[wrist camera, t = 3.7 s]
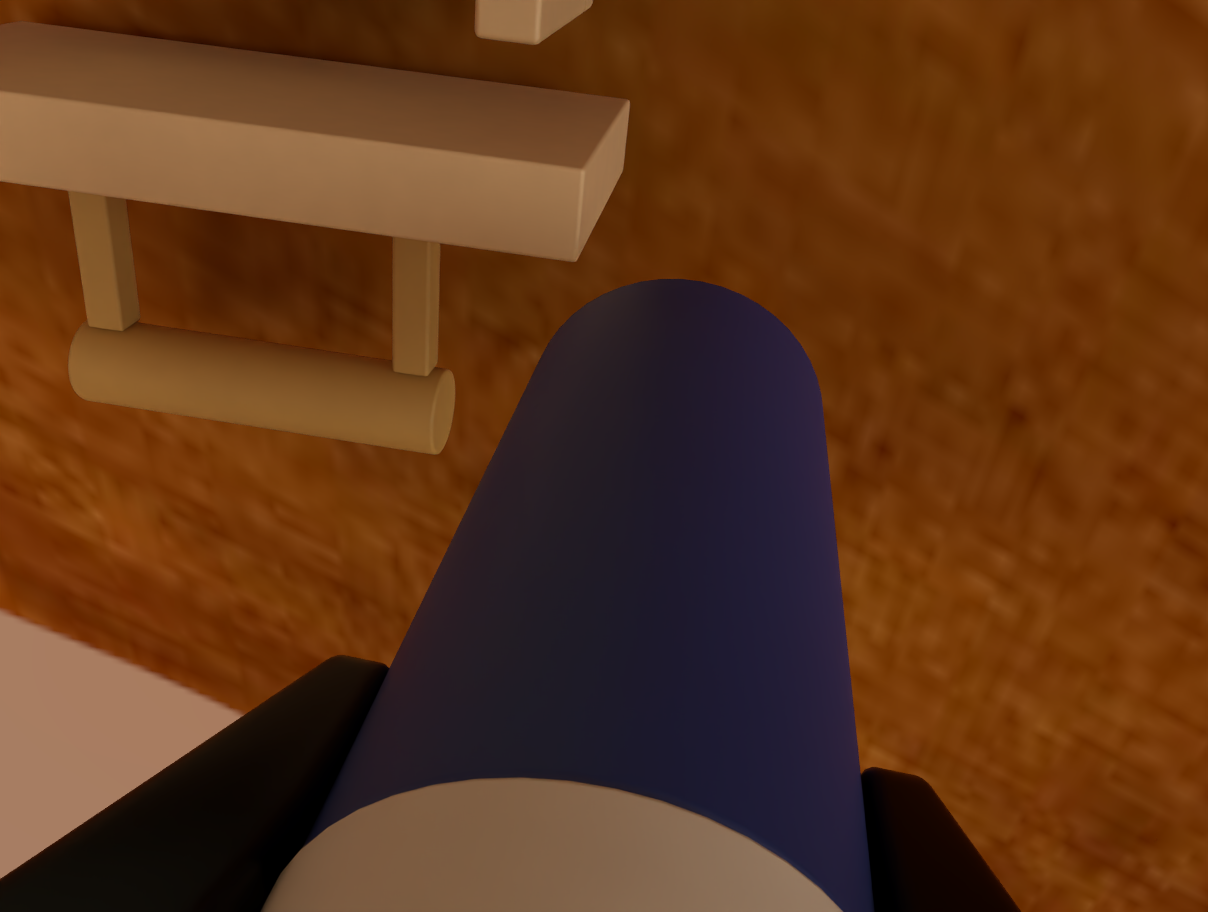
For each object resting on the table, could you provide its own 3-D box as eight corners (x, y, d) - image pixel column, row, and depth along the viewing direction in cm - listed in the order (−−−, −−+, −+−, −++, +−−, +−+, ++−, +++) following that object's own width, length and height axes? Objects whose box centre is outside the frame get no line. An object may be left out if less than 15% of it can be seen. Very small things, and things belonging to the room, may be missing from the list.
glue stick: (788, 567, 13) (816, 1579, 5) (512, 511, 13) (144, 1410, 5) (861, 305, 11) (1068, 1221, 4) (546, 244, 12) (79, 992, 4)
